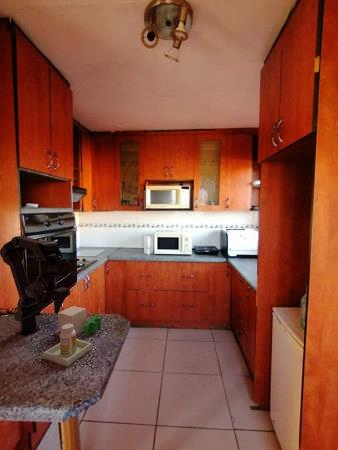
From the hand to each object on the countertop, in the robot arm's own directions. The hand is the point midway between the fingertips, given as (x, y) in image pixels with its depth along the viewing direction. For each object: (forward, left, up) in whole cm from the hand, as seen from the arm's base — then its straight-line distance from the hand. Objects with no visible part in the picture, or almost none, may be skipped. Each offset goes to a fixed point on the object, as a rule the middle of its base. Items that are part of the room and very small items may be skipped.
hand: (48, 311), depth 98 cm
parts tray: (+15, -4, -12) cm, 20 cm away
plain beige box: (+3, +9, -12) cm, 15 cm away
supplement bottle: (+15, -4, -11) cm, 19 cm away
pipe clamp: (+11, +13, -12) cm, 21 cm away
